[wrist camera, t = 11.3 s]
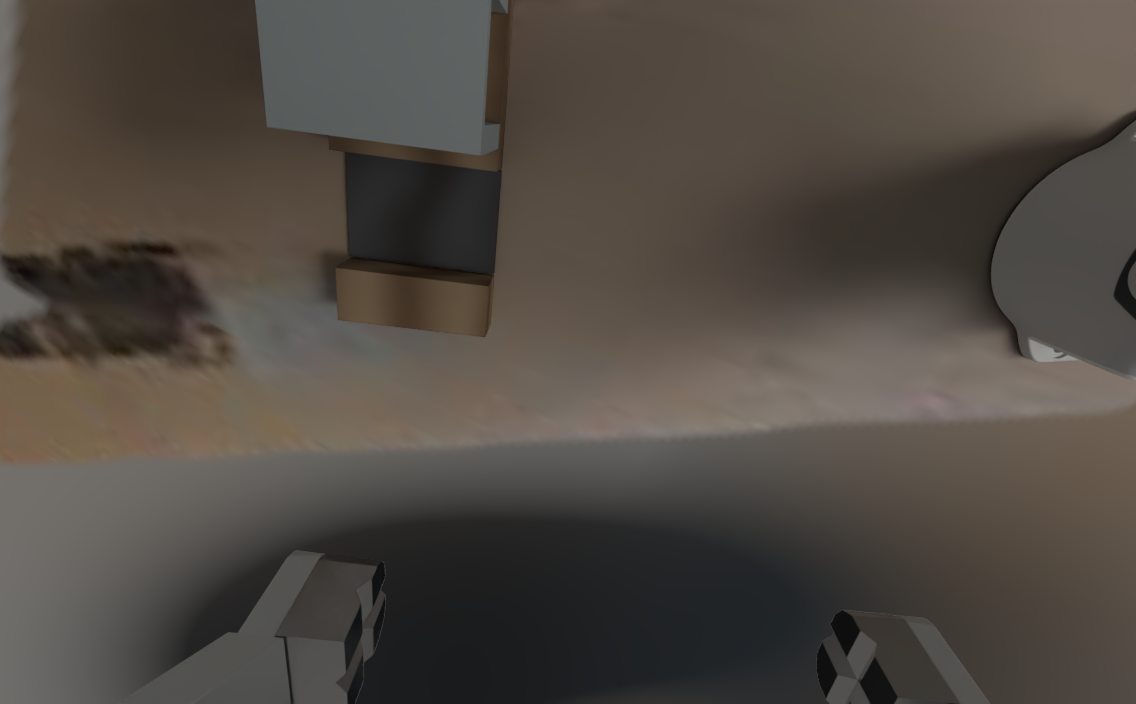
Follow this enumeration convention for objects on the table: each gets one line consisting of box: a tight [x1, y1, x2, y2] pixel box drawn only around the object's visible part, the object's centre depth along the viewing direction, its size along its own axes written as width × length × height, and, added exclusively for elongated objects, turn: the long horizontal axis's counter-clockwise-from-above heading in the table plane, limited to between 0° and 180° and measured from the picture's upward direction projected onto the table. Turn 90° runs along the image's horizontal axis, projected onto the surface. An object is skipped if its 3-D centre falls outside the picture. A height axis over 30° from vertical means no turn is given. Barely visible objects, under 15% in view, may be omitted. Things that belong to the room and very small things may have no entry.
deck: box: [329, 0, 514, 337], centre depth 34 cm, size 11×39×3 cm, turn 173°
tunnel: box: [255, 0, 508, 155], centre depth 29 cm, size 11×9×8 cm
